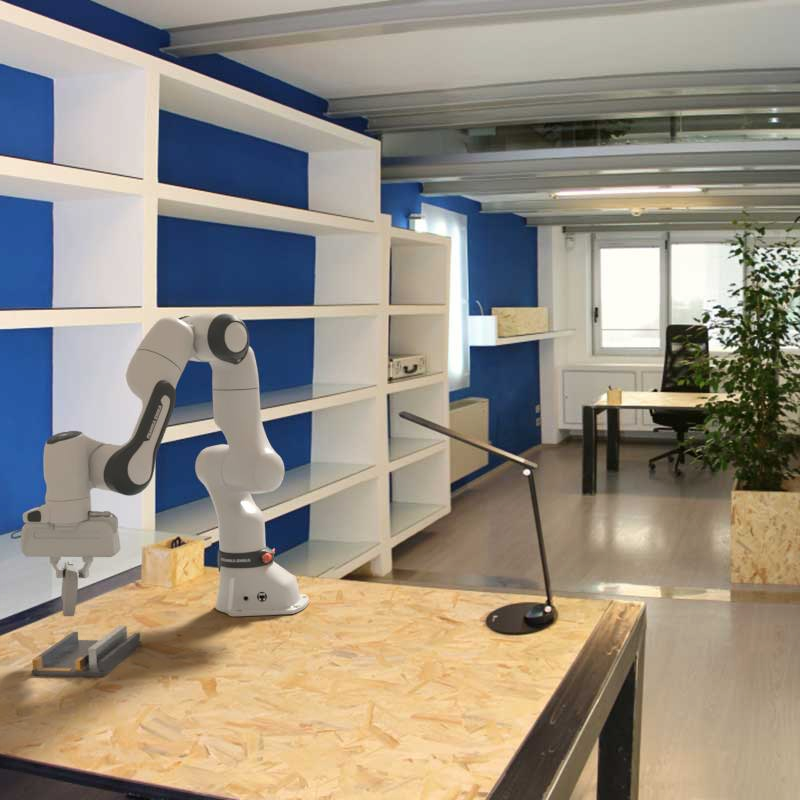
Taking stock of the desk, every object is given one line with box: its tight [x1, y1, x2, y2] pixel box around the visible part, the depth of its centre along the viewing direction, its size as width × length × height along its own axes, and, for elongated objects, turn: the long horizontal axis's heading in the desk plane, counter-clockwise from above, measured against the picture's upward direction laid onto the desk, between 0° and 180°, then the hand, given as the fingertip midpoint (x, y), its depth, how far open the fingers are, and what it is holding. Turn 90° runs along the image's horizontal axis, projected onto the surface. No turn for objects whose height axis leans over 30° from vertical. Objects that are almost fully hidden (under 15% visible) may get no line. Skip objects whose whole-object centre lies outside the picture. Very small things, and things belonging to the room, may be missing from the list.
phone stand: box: [31, 625, 142, 678], centre depth 211 cm, size 15×19×5 cm
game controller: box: [60, 560, 79, 617], centre depth 210 cm, size 20×2×8 cm, turn 20°
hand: (72, 577), depth 211 cm, fingers open, 3 cm apart
